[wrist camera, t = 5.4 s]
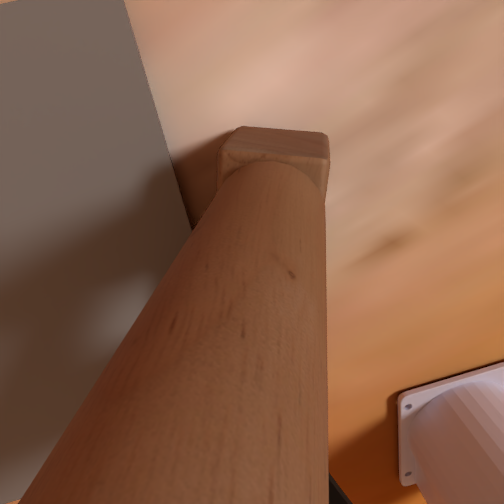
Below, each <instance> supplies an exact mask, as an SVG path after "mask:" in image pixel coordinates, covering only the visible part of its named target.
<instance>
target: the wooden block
mask: <svg viewBox="0 0 504 504" xmlns="http://www.w3.org/2000/svg"><path fill="white" fill-rule="evenodd" d="M329 169H330V150H329V140H328V136H327V135H325V134H323V133H320V132H308V131H295V130H283V129H271V128H259V127H247V126H241V127H239V128H236V130H235V131H234V132H233V133H232V134H231V135H230V137H229V138H228V139H227V140H226V141H225V142H224V144H223V145H222V146H221V147H220V149H219V151H218V154H217V194H216V196H215V197H214V199H213V200H212V202H211V203H210V205H209V206H208V208H207V210H206V211H205V213H204V214H203V216H202V217H201V219H200V220H199V222H198V224H197V225H196V227H195V228H194V230H193V231H192V233H191V235H190V236H189V238H188V239H187V241H186V242H185V244H184V245H183V247H182V249H181V250H180V252H179V253H178V255H177V256H176V258H175V260H174V261H173V263H172V264H171V266H170V267H169V269H168V270H167V272H166V274H165V275H164V277H163V278H162V280H161V281H160V283H159V284H158V286H157V288H156V289H155V291H154V292H153V294H152V295H151V297H150V299H149V300H148V302H147V303H146V305H145V306H144V308H143V309H142V311H141V313H140V314H139V316H138V317H137V319H136V320H135V322H134V323H133V325H132V327H131V328H130V330H129V331H128V333H127V334H126V336H125V338H124V339H123V341H122V342H121V344H120V345H119V347H118V348H117V350H116V352H115V353H114V355H113V356H112V358H111V359H110V361H109V362H108V364H107V366H106V367H105V369H104V370H103V372H102V373H101V375H100V377H99V378H98V380H97V381H96V383H95V384H94V386H93V387H92V389H91V391H90V392H89V394H88V395H87V397H86V398H85V400H84V402H83V403H82V405H81V406H80V408H79V409H78V411H77V412H76V414H75V416H74V417H73V419H72V420H71V422H70V423H69V425H68V426H67V428H66V430H65V431H64V433H63V434H62V436H61V437H60V439H59V441H58V442H57V444H56V445H55V447H54V448H53V450H52V451H51V453H50V455H49V456H48V458H47V459H46V461H45V462H44V464H43V465H42V467H41V469H40V470H39V472H38V473H37V475H36V476H35V478H34V480H33V481H32V483H31V484H30V486H29V487H28V489H27V490H26V492H25V494H24V495H23V497H22V498H21V500H20V501H19V503H18V504H329V472H328V387H327V303H326V221H325V198H326V191H327V183H328V176H329Z"/></svg>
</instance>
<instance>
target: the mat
mask: <svg viewBox="0 0 504 504" xmlns="http://www.w3.org/2000/svg"><path fill="white" fill-rule="evenodd" d="M191 233H192V229H191V225H190V222H189V219H188V215H187V212H186V209H185V205H184V202H183V199H182V195H181V192H180V188H179V185H178V182H177V178H176V175H175V172H174V168H173V165H172V162H171V158H170V155H169V151H168V148H167V145H166V141H165V138H164V135H163V131H162V128H161V125H160V121H159V118H158V115H157V111H156V108H155V104H154V101H153V98H152V94H151V91H150V88H149V84H148V81H147V78H146V74H145V71H144V67H143V64H142V61H141V57H140V54H139V51H138V47H137V44H136V41H135V37H134V34H133V31H132V27H131V24H130V20H129V17H128V14H127V10H126V7H125V4H124V0H18V1H13V2H8V3H4V4H0V504H6V503H9V502H12V501H16V500H19V499H21V498H22V497H23V495H24V494H25V492H26V490H27V489H28V487H29V486H30V484H31V483H32V481H33V480H34V478H35V476H36V475H37V473H38V472H39V470H40V469H41V467H42V465H43V464H44V462H45V461H46V459H47V458H48V456H49V455H50V453H51V451H52V450H53V448H54V447H55V445H56V444H57V442H58V441H59V439H60V437H61V436H62V434H63V433H64V431H65V430H66V428H67V426H68V425H69V423H70V422H71V420H72V419H73V417H74V416H75V414H76V412H77V411H78V409H79V408H80V406H81V405H82V403H83V402H84V400H85V398H86V397H87V395H88V394H89V392H90V391H91V389H92V387H93V386H94V384H95V383H96V381H97V380H98V378H99V377H100V375H101V373H102V372H103V370H104V369H105V367H106V366H107V364H108V362H109V361H110V359H111V358H112V356H113V355H114V353H115V352H116V350H117V348H118V347H119V345H120V344H121V342H122V341H123V339H124V338H125V336H126V334H127V333H128V331H129V330H130V328H131V327H132V325H133V323H134V322H135V320H136V319H137V317H138V316H139V314H140V313H141V311H142V309H143V308H144V306H145V305H146V303H147V302H148V300H149V299H150V297H151V295H152V294H153V292H154V291H155V289H156V288H157V286H158V284H159V283H160V281H161V280H162V278H163V277H164V275H165V274H166V272H167V270H168V269H169V267H170V266H171V264H172V263H173V261H174V260H175V258H176V256H177V255H178V253H179V252H180V250H181V249H182V247H183V245H184V244H185V242H186V241H187V239H188V238H189V236H190V235H191Z"/></svg>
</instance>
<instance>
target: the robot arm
mask: <svg viewBox="0 0 504 504" xmlns="http://www.w3.org/2000/svg"><path fill="white" fill-rule="evenodd" d="M398 443H399V480H400V482H401V484H402V485H403V486H409V485H413V484H417V486H418V488H419V490H420V491H421V493H422V495H423V497H424V499H425V500H426V502H427V504H504V362H501V363H498V364H495V365H491V366H488V367H485V368H481V369H478V370H475V371H471V372H468V373H465V374H462V375H458V376H455V377H452V378H448V379H445V380H442V381H438V382H435V383H432V384H428V385H425V386H422V387H418V388H415V389H412V390H408V391H405V392H403V393H401V394H400V395H399V396H398ZM329 504H353V503H352V502H351V501H350V500H349V499H348V497H347V496H346V495H345V493H344V492H343V491H342V490H341V488H340V487H339V486H338V484H337V483H336V481H335V480H334V479H333V477H332V476H331V475H330V473H329Z"/></svg>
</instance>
